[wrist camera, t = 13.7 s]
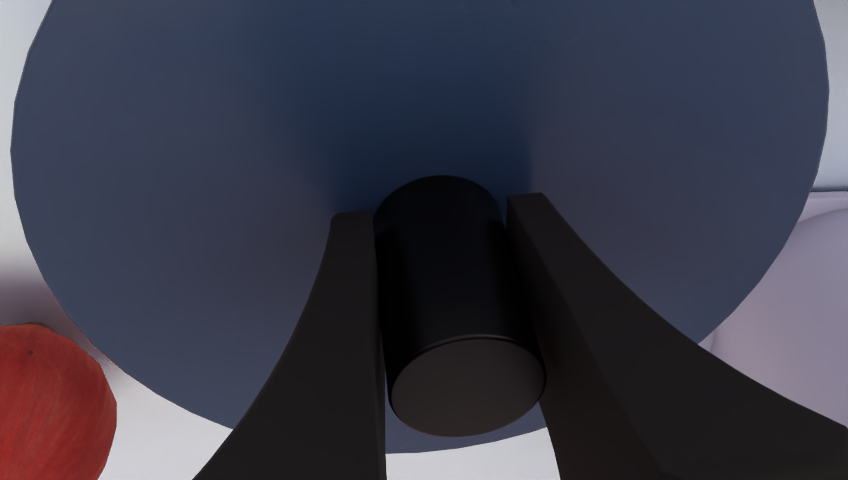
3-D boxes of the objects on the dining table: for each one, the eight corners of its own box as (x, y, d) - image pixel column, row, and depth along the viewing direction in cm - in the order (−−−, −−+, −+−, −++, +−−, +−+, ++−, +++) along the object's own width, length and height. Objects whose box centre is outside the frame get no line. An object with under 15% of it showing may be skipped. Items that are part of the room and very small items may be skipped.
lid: (686, 398, 21) (766, 580, 18) (118, 435, 20) (76, 644, 16) (944, -217, 12) (1229, -101, 8) (-111, -249, 10) (-339, -121, 7)
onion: (77, 409, 29) (20, 642, 23) (-95, 346, 26) (-213, 595, 20) (167, 317, 26) (128, 552, 20) (-13, 236, 23) (-119, 482, 17)
